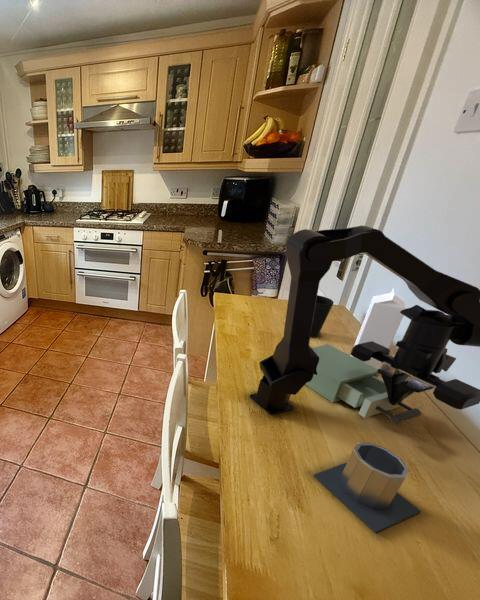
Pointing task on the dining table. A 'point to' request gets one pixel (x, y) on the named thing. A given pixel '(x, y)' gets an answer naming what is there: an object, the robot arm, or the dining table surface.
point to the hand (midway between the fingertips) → (393, 404)
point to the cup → (320, 314)
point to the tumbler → (373, 475)
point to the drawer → (373, 399)
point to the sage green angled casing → (336, 371)
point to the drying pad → (372, 518)
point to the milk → (381, 323)
